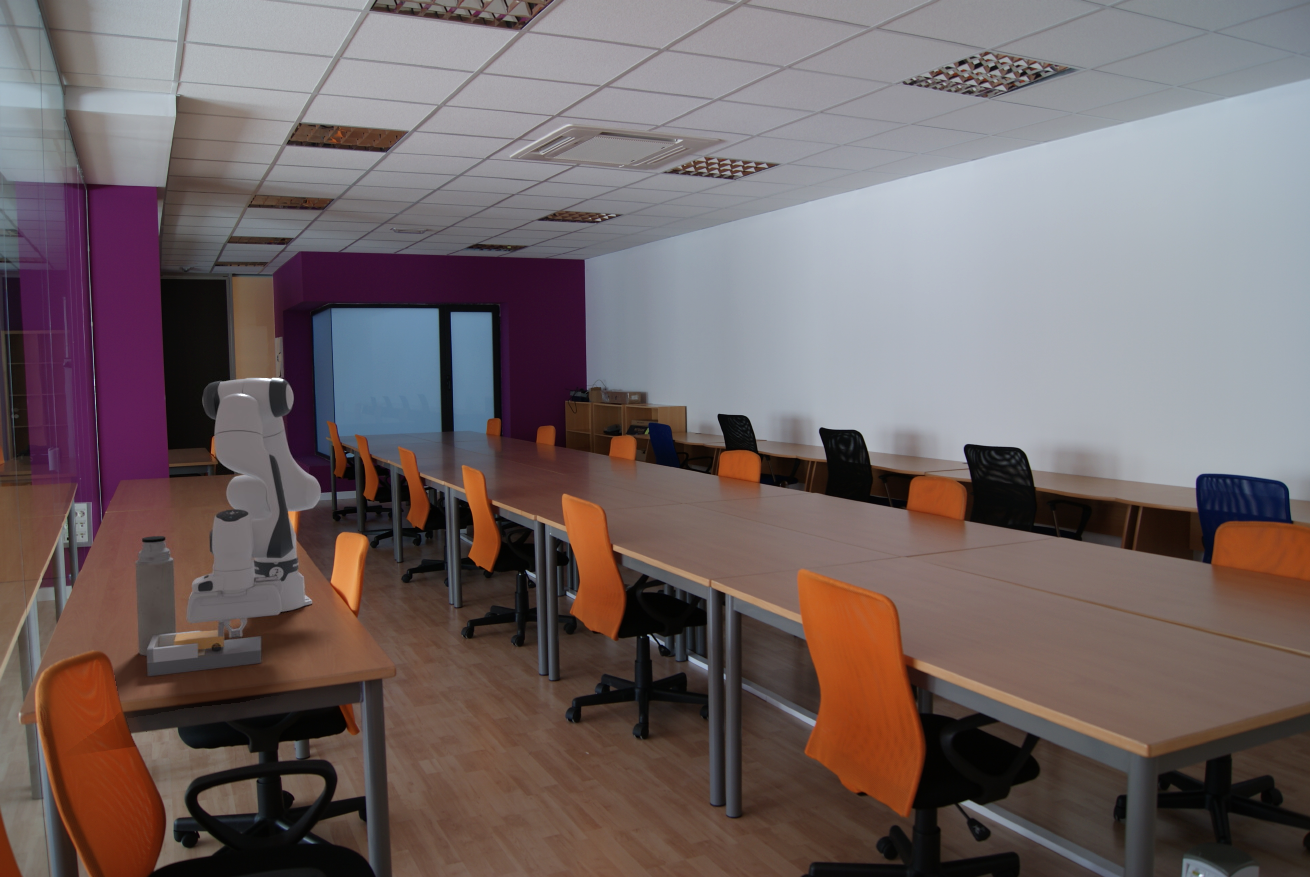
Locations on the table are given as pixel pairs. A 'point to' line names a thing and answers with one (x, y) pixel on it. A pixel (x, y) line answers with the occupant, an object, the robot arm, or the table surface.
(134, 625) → the table surface
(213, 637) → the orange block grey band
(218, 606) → the robot arm
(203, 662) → the dock
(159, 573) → the thermos bottle
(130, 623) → the table surface
